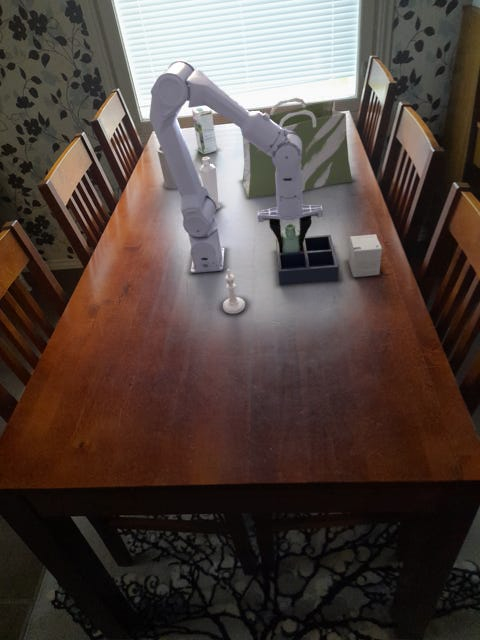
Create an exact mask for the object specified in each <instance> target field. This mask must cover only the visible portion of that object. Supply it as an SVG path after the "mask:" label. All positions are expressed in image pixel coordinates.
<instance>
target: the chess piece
mask: <svg viewBox="0 0 480 640" xmlns="http://www.w3.org/2000/svg"><path fill="white" fill-rule="evenodd" d="M226 271H227V274H226V275H225V277H224V279H225V281H226V283H227V284H226V285H225V289H227V290H228V292H229V293H228V298H226V299H225V300H224V301H223V303H222V310H223V311H224V312H225V313H227V314H233V315H234V314H238V313H241V312H243V310H244V309H245V308H246V303H245V301H244V299H243V298H241V297H239V296H237V295H236V292H235V289H236V288H237V285H236V283H234V282H235V276H234V275H233V274H231V269H230V268H227V270H226Z"/></svg>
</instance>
